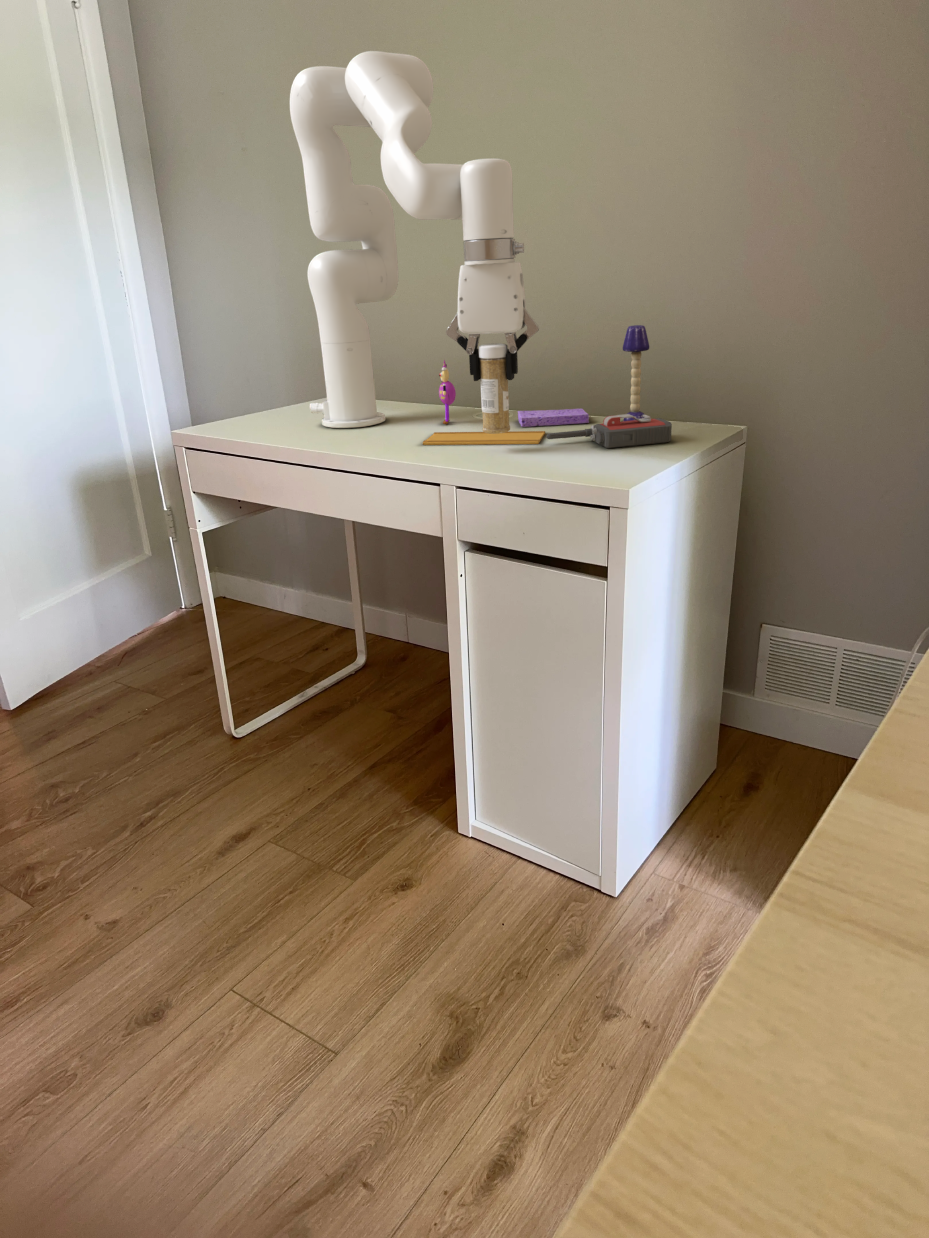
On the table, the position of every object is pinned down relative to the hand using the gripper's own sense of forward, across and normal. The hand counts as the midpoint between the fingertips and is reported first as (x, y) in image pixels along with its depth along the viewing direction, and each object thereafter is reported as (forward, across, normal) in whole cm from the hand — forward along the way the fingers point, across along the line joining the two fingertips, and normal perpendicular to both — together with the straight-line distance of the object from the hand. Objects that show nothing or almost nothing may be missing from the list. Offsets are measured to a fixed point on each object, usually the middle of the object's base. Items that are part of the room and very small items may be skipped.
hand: (494, 378), depth 134 cm
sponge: (+12, -6, -25) cm, 28 cm away
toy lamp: (+12, -21, -24) cm, 34 cm away
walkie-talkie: (+12, -18, -6) cm, 22 cm away
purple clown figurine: (+12, +14, -25) cm, 31 cm away
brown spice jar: (+9, 0, 0) cm, 9 cm away
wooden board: (+12, +4, -10) cm, 16 cm away
